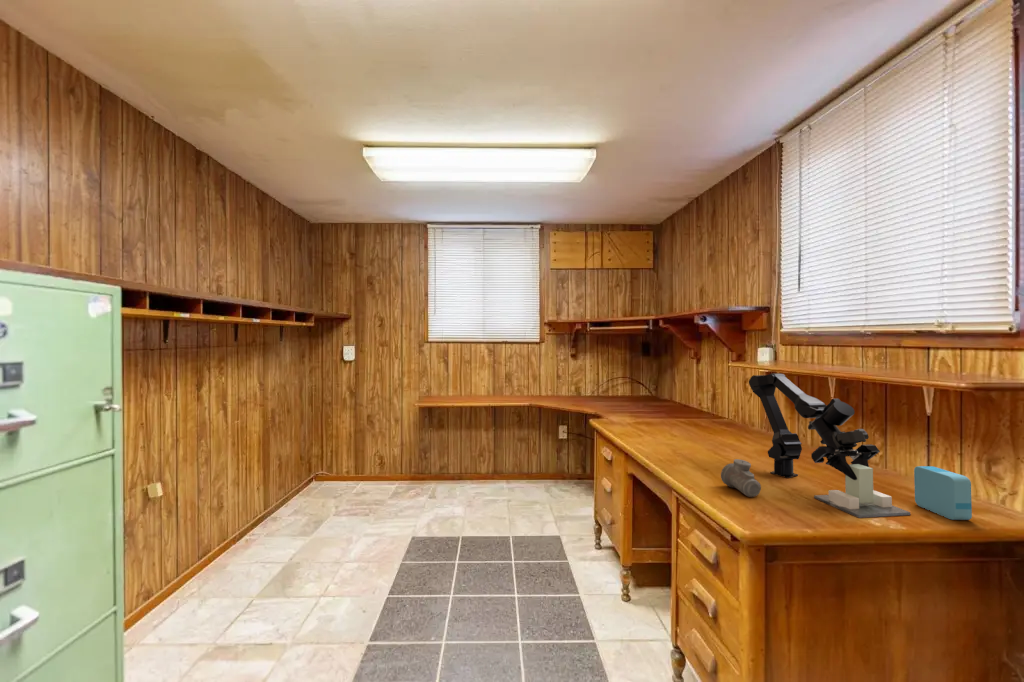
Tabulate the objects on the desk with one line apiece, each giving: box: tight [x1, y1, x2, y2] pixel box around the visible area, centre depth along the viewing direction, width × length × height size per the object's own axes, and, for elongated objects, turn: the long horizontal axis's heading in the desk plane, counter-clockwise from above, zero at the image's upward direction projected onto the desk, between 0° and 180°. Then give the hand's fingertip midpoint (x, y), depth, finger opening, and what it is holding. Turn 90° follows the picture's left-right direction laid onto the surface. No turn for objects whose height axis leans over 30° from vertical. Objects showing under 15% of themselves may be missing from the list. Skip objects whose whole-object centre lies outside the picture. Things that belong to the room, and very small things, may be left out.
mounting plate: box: [813, 494, 911, 519], centre depth 122 cm, size 16×15×1 cm
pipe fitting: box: [720, 458, 762, 498], centre depth 135 cm, size 12×8×10 cm
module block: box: [844, 463, 874, 503], centre depth 122 cm, size 4×4×10 cm
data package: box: [913, 465, 973, 521], centre depth 117 cm, size 12×4×12 cm, turn 176°
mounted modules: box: [828, 489, 893, 509], centre depth 122 cm, size 14×7×3 cm, turn 95°
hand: (863, 479), depth 121 cm, fingers closed on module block, 4 cm apart
